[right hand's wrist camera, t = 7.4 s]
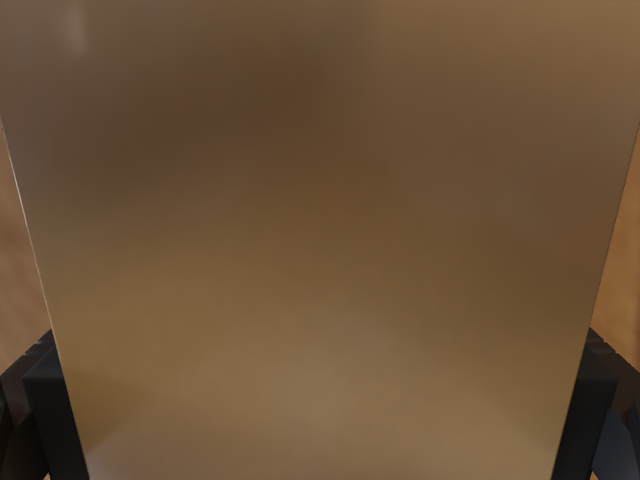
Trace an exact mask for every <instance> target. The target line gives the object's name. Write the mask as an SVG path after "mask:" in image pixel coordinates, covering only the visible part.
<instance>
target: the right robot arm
mask: <svg viewBox="0 0 640 480" xmlns="http://www.w3.org/2000/svg"><path fill="white" fill-rule="evenodd" d="M592 471H593V472H594V474H595V475H596V476H597V478H598V479H599V480H640V373H639V372H638V371H637V370H636V369H635V368H634V367H632V366H631V365H630V364H629V363H628V362H627V361H626V360H625V359H624V358H623V357H622V356H621V355H619V354H616V352H615V350H614V349H613V348H612V347H611V346H610V345H609V344H608V343H604V340H603V339H602V338H601V337H600V336H599V335H598V334H597V333H596V332H595V331H594V330H592V329H591V328H590V327H589V329H588V333H587V337H586V341H585V345H584V349H583V353H582V357H581V361H580V365H579V369H578V373H577V377H576V381H575V385H574V389H573V393H572V397H571V401H570V405H569V409H568V413H567V417H566V421H565V425H564V429H563V433H562V437H561V441H560V445H559V449H558V453H557V457H556V461H555V465H554V469H553V473H552V477H551V480H590V477H591V473H592ZM48 472H49V476H50V479H51V480H90V479H89V475H88V471H87V467H86V463H85V459H84V455H83V451H82V447H81V443H80V439H79V435H78V431H77V427H76V423H75V419H74V415H73V411H72V407H71V403H70V399H69V395H68V391H67V387H66V383H65V379H64V375H63V371H62V367H61V363H60V359H59V355H58V351H57V347H56V343H55V339H54V335H53V331H52V328H51V329H50V330H49V331H48V332H47V333H46V334H44V335H43V336H42V337H41V338H40V339H39V340H38V341H37V344H34V345H33V346H32V347H31V348H29V349H28V350H27V351H26V352H25V355H22V356H21V357H20V358H19V359H18V360H17V361H16V362H14V363H13V364H12V365H11V366H10V367H9V368H8V369H7V370H6V371H5V372H4V373H3V374H2V375H1V376H0V480H43V479H44V478H45V476H46V475H47V473H48Z"/></svg>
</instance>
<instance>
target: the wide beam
mask: <svg viewBox="0 0 640 480" xmlns="http://www.w3.org/2000/svg"><path fill="white" fill-rule="evenodd" d="M0 123H1V127H2V131H3V135H4V139H5V143H6V147H7V151H8V155H9V159H10V163H11V167H12V171H13V175H14V179H15V183H16V187H17V191H18V195H19V199H20V203H21V207H22V211H23V215H24V219H25V223H26V227H27V231H28V235H29V239H30V243H31V247H32V251H33V255H34V259H35V263H36V267H37V271H38V275H39V279H40V283H41V287H42V291H43V295H44V299H45V303H46V307H47V311H48V315H49V319H50V323H51V327H52V331H53V335H54V339H55V343H56V347H57V351H58V355H59V359H60V363H61V367H62V371H63V375H64V379H65V383H66V387H67V391H68V395H69V399H70V403H71V407H72V411H73V415H74V419H75V423H76V427H77V431H78V435H79V439H80V443H81V447H82V451H83V455H84V459H85V463H86V467H87V471H88V475H89V479H90V480H551V477H552V473H553V469H554V465H555V461H556V457H557V453H558V449H559V445H560V441H561V437H562V433H563V429H564V425H565V421H566V417H567V413H568V409H569V405H570V401H571V397H572V393H573V389H574V385H575V381H576V377H577V373H578V369H579V365H580V361H581V357H582V353H583V349H584V345H585V341H586V337H587V333H588V329H589V325H590V321H591V317H592V313H593V309H594V305H595V301H596V297H597V293H598V289H599V285H600V281H601V277H602V273H603V269H604V265H605V261H606V257H607V253H608V249H609V245H610V241H611V237H612V233H613V229H614V225H615V221H616V217H617V213H618V209H619V205H620V201H621V197H622V193H623V189H624V185H625V182H626V178H627V174H628V170H629V166H630V162H631V158H632V154H633V150H634V146H635V142H636V138H637V134H638V130H639V126H640V0H0Z"/></svg>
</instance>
